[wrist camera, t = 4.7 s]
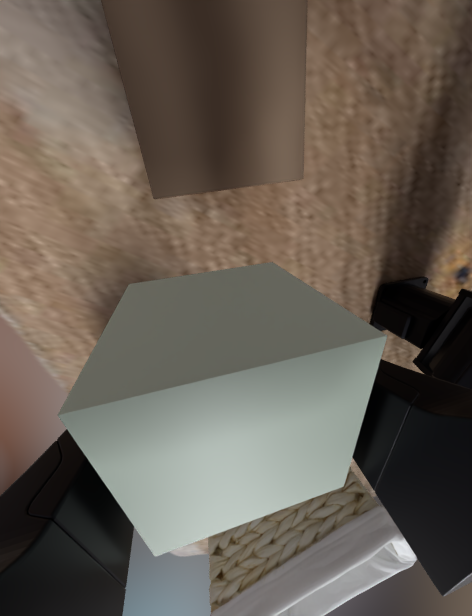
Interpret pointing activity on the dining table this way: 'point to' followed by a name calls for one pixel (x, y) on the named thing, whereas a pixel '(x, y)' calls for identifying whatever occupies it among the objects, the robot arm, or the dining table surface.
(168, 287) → the sage cube
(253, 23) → the walnut block
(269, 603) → the storage basket
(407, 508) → the robot arm
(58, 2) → the dining table surface
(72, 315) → the dining table surface
